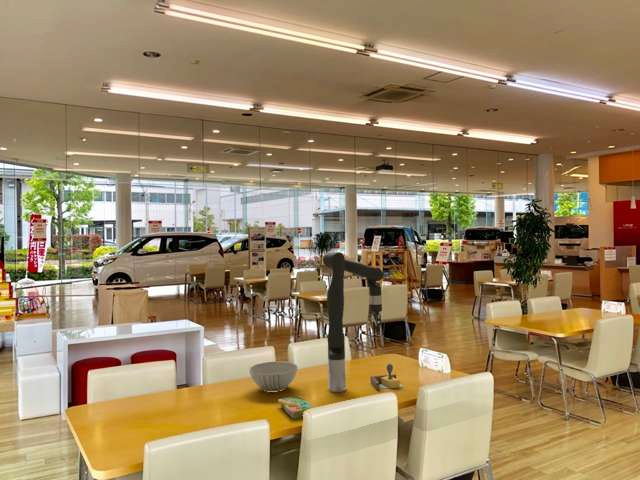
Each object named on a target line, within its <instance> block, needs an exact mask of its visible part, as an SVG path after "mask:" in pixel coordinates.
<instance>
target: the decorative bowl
mask: <svg viewBox="0 0 640 480" xmlns="http://www.w3.org/2000/svg"><path fill="white" fill-rule="evenodd" d="M298 369H299V366H298V365H297V364H296V363H294V362H290V361H281V360H280V361H278V360H277V361H266V362H265V361H264V362H260V363H257V364H253V365H252V366H250V367H249V374H250V377H251V379H252V380H253V382H254V383H255V384H256V385H257V386H258V387H259V388H261V389H262V391H263V390H265V391H280V390H283V389H285V390H286V388H288V387H289V386H290V385H291V384H292V382H293V381H294V379H295V377H296V376H297V373H298ZM265 391H264V392H265Z"/></svg>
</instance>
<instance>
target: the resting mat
mask: <svg viewBox="0 0 640 480" xmlns="http://www.w3.org/2000/svg"><path fill="white" fill-rule="evenodd" d="M379 388H381V389H382V390H383V389H384V390H385V389H391V388H390V387H387V386H385V385H383V384H381V383H379ZM397 388H399V389H400V388H404V385H402V384H401V383H400V387H396V388H395V389H397Z"/></svg>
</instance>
